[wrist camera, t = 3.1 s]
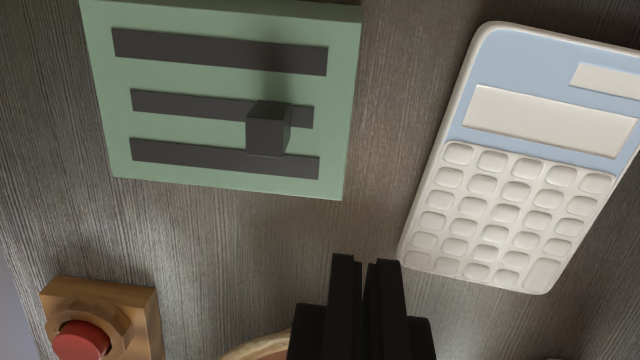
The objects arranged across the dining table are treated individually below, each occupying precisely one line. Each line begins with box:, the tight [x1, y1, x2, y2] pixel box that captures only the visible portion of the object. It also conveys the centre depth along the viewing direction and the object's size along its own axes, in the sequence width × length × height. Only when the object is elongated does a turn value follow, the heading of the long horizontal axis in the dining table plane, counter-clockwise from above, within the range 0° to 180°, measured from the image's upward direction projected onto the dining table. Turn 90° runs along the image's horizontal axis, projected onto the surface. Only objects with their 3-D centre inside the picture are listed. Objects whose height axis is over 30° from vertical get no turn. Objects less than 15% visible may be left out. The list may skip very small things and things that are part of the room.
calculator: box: [397, 21, 640, 295], centre depth 30 cm, size 13×20×2 cm, turn 169°
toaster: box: [79, 0, 362, 201], centre depth 26 cm, size 14×10×8 cm
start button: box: [52, 319, 110, 360], centre depth 37 cm, size 4×4×2 cm
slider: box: [245, 100, 292, 159], centre depth 21 cm, size 2×2×3 cm
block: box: [39, 275, 165, 360], centre depth 42 cm, size 17×10×4 cm, turn 174°
